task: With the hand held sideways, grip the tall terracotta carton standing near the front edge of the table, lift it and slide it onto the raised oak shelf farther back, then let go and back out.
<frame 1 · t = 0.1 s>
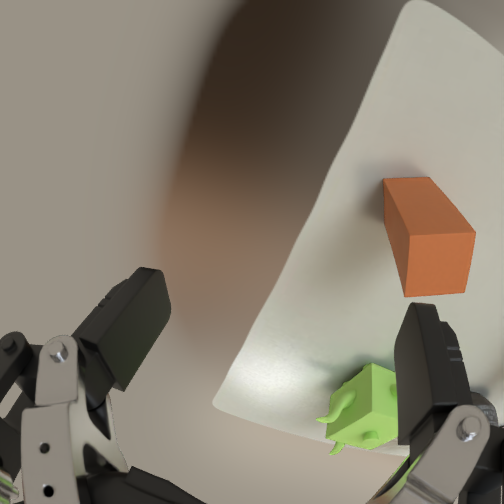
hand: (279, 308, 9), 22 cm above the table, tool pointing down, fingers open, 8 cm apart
kettle: (368, 380, 43), on the table
carton: (406, 201, 27), on the table
planter: (459, 405, 42), on the table
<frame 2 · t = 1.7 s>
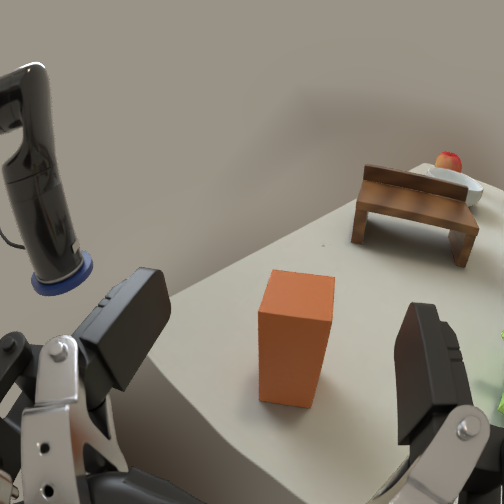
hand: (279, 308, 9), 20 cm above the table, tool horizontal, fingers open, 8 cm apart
cereal bowl: (450, 202, 69), on the table
shelf: (409, 240, 51), on the table
apple: (445, 181, 84), on the table
carton: (289, 384, 28), on the table
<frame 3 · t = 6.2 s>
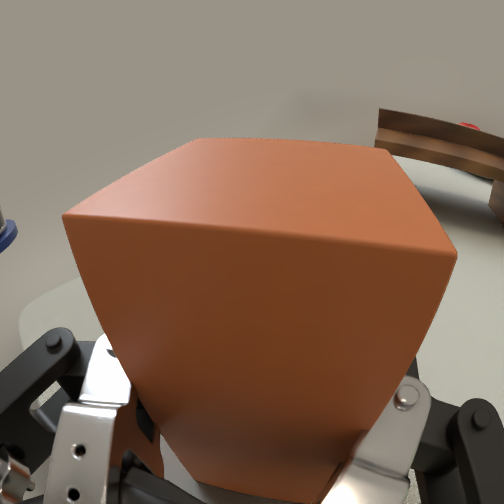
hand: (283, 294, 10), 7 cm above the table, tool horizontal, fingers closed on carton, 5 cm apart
shelf: (444, 204, 35), on the table
carton: (265, 447, 11), on the table, touching gripper
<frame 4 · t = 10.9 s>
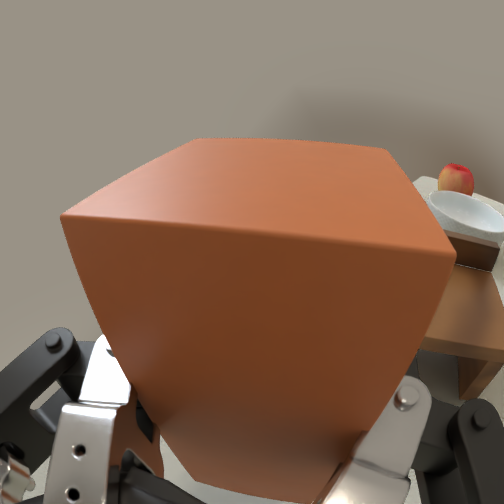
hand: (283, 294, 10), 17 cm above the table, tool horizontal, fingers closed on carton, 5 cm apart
cereal bowl: (460, 243, 46), on the table
shelf: (384, 345, 29), on the table
apple: (451, 205, 62), on the table
carton: (264, 447, 11), point 10 cm above the table, touching gripper
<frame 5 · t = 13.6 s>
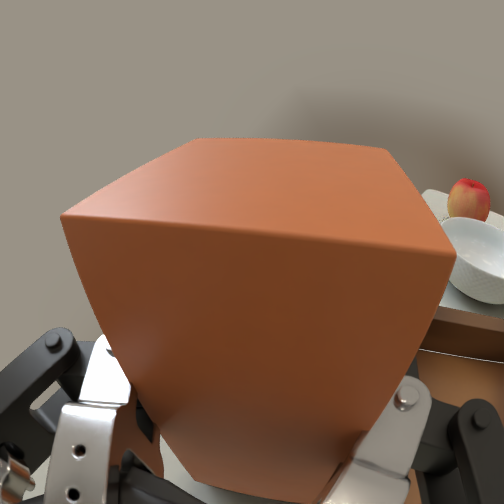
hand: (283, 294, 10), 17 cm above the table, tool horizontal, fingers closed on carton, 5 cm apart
cereal bowl: (474, 285, 36), on the table
shelf: (360, 460, 18), on the table
apple: (462, 228, 51), on the table
carton: (265, 447, 11), point 10 cm above the table, touching gripper
when the fingers open (15 cm above the table, at t = 15.5 s): carton stays where it is, resting on shelf.
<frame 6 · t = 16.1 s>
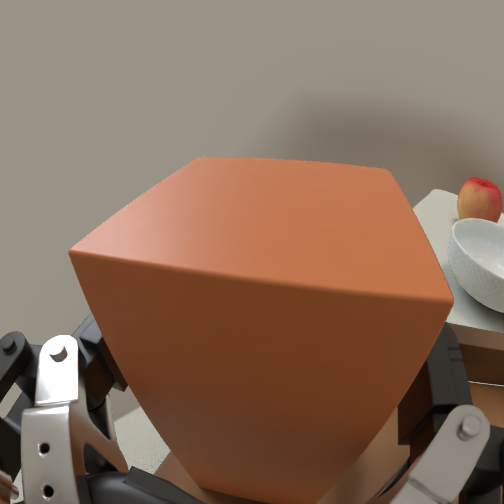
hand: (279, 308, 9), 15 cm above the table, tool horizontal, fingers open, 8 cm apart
cereal bowl: (488, 293, 31), on the table
shelf: (364, 499, 14), on the table
apple: (472, 230, 47), on the table
carton: (267, 454, 12), point 8 cm above the table, touching shelf
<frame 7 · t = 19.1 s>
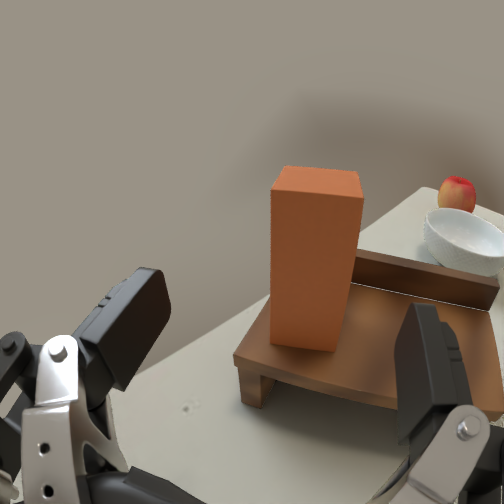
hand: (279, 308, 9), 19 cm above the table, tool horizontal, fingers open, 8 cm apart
cereal bowl: (459, 265, 44), on the table
shelf: (366, 389, 26), on the table
apple: (451, 220, 59), on the table
carton: (306, 325, 24), point 8 cm above the table, touching shelf
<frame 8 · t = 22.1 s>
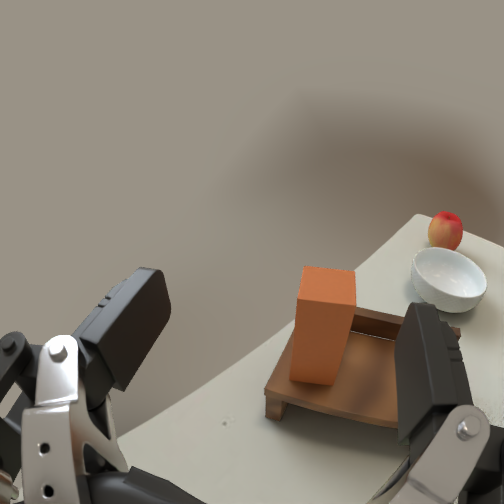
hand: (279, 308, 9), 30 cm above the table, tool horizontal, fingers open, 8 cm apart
cereal bowl: (441, 298, 53), on the table
shelf: (356, 406, 35), on the table
apple: (440, 250, 68), on the table
carton: (313, 366, 33), point 8 cm above the table, touching shelf
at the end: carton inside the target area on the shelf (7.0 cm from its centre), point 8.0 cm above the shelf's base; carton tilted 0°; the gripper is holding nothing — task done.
